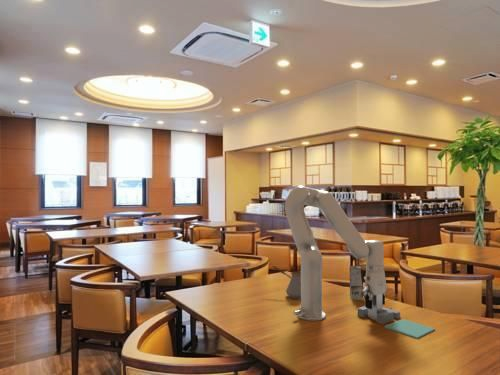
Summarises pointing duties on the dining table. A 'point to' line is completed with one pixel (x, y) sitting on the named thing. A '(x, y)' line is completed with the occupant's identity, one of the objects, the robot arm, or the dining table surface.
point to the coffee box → (356, 282)
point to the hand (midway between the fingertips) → (375, 306)
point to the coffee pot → (293, 284)
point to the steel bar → (375, 306)
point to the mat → (409, 328)
